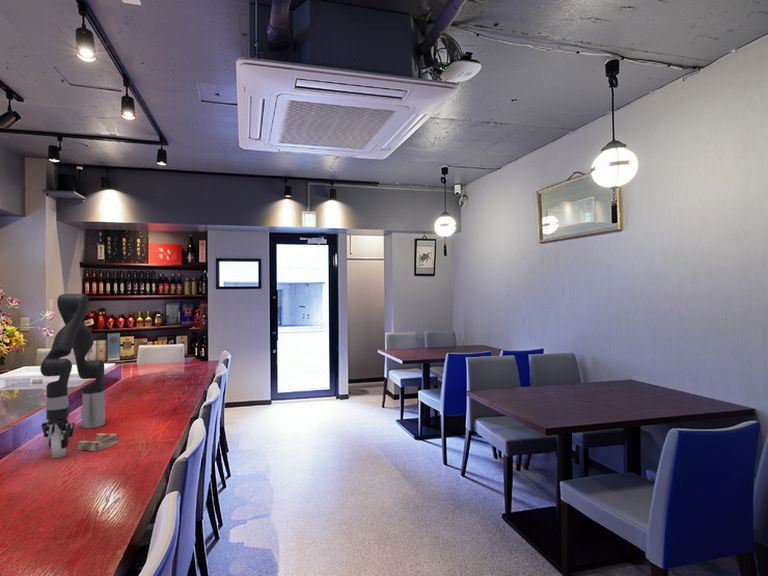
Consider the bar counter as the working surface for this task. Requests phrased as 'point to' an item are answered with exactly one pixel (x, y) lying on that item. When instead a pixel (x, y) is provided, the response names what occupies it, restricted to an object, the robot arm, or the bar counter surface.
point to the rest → (99, 442)
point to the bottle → (56, 445)
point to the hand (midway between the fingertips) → (58, 447)
